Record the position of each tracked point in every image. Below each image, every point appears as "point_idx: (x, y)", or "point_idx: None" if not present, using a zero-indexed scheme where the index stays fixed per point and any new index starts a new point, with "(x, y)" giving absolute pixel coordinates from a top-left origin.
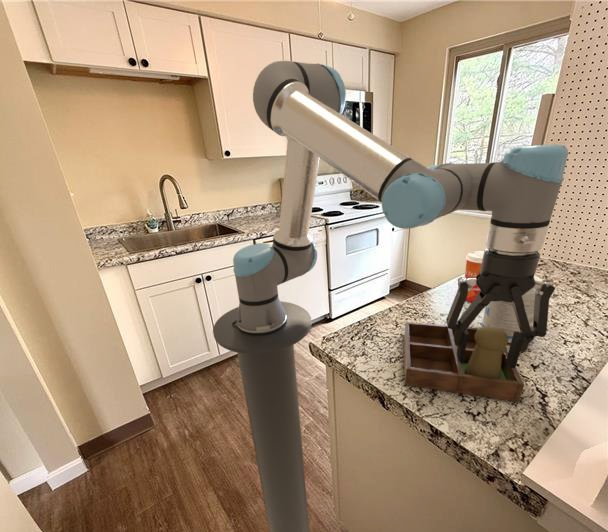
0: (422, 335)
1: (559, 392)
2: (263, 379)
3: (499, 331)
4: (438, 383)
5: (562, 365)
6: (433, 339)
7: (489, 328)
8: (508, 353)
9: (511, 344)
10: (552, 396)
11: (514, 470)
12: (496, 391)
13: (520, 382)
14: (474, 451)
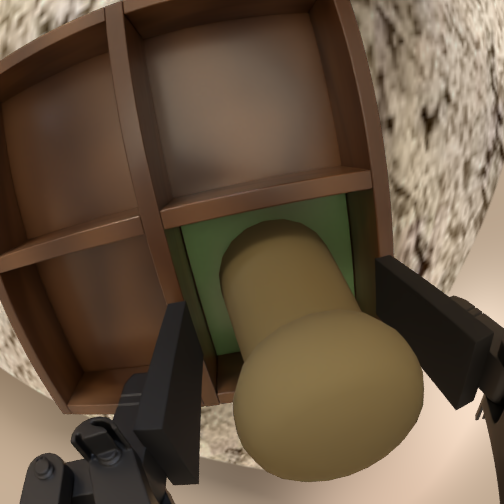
0: (40, 78)
1: (455, 235)
2: None
3: (387, 441)
4: None
5: (479, 98)
6: (82, 72)
7: (332, 440)
8: (392, 276)
9: (423, 307)
10: (439, 261)
11: None
12: None
13: None
14: (258, 468)
